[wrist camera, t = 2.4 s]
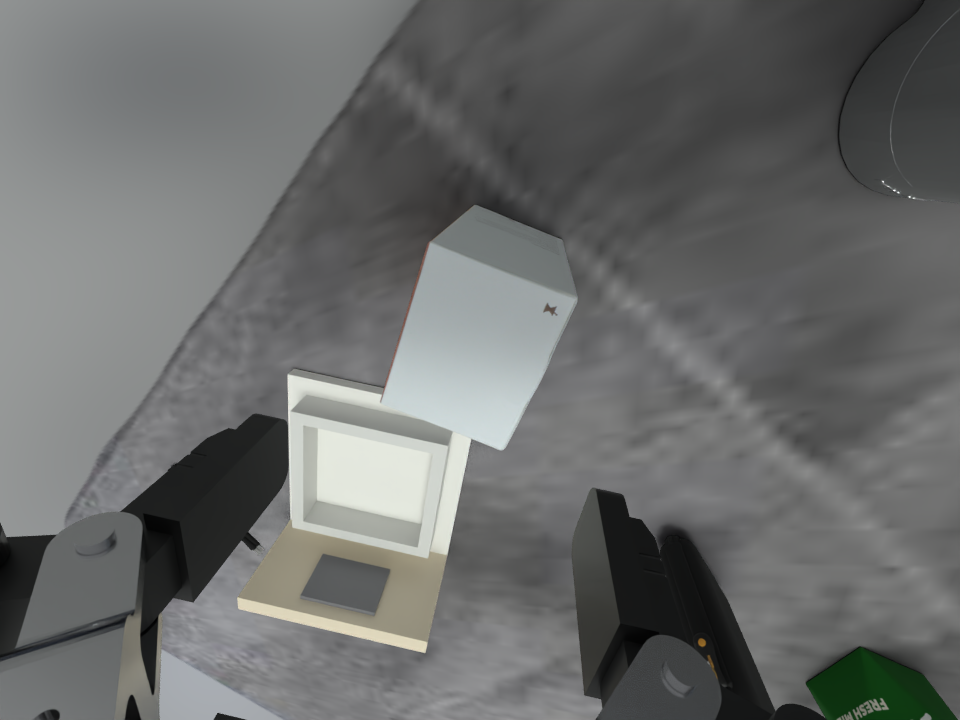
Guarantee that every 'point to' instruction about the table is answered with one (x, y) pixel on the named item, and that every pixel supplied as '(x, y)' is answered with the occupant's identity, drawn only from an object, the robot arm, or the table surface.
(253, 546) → the black thin rod
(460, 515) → the table surface
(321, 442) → the frame
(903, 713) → the milk carton
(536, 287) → the small box
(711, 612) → the carrying case or bag
